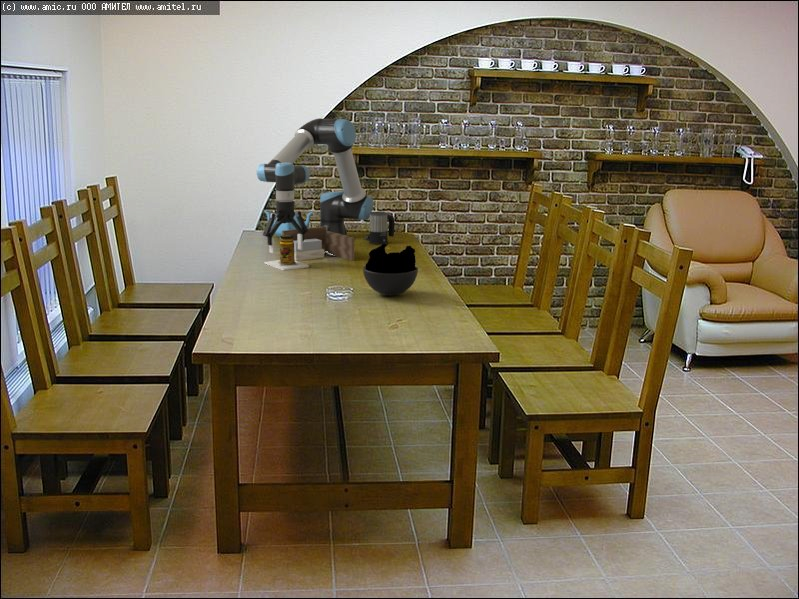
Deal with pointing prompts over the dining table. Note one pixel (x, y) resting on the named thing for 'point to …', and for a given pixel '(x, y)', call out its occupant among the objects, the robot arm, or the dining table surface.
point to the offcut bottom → (309, 254)
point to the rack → (328, 241)
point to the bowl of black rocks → (390, 270)
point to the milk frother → (380, 228)
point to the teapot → (289, 224)
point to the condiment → (287, 250)
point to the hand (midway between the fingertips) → (286, 251)
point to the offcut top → (308, 245)
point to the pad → (286, 267)
